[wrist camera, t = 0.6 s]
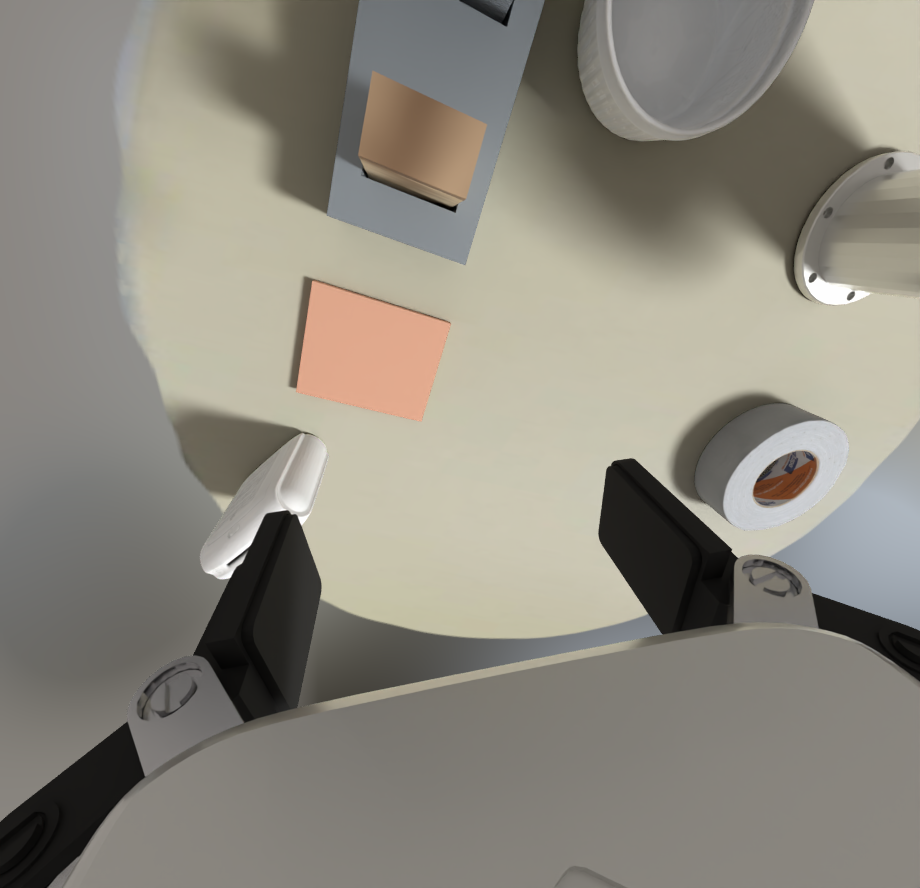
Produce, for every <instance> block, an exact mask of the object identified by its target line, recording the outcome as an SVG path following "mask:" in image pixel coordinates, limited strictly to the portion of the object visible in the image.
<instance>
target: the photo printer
mask: <svg viewBox="0 0 920 888" xmlns="http://www.w3.org/2000/svg"><path fill="white" fill-rule="evenodd" d="M328 459H329V454H328V453H327V449H326V446H325V445H324V443H323V442H322V441H321V440H320V439H319V438H317V437H316V436H313V435H310V434H304V433H301V434H299V435H297V436H295V437H294V438H292V439H291V440H290V441H288V442H287V443H286V444H285V445H283V446H282V447H281V448H280V449H279V450H278V451H277V452H275V453H274V454H273V455H272V456H271V457H269V458H268V459H267V460H266V461H265V462H264V463H263V464H262V465H260V466H259V467H258V468H257V469H256V470H255V471H254V472H253V473H252V474H251V475H250V476H249V477H248V478H247V479H246V480H245V481H244V482H243V484H242V485H241V486H240V488H239V490H238V491H237V493H236V495H235V496H234V498H233V499H232V501H231V503H230V504H229V506H228V507H227V509H226V511H225V512H224V514H223V515H222V517H221V518H220V520H219V522H218V523H217V525H216V526H215V528H214V530H213V531H212V533H211V534H210V536H209V537H208V539H207V541H206V542H205V544H204V545H203V547H202V550H201V553H200V563H201V566H202V568H203V570H204V571H205V572H206V573H209V574H212V575H214V576H215V577H217V578H218V579H227V578H231V576H232V573H233V571H234V570H235V568H236V567H237V566H238V565H240V564H242V563H243V561H244V558H245V556H246V554H247V552H248V550H249V548H250V546H251V543H252V541H253V539H254V537H255V535H256V533H257V531H258V528H259V526H260V524H261V522H262V520H263V518H264V516H265V514H267V513H271V512H277V511H284V510H288V511H290V513H291V514H296V515H297V516H298V518H299V521H300V524H301V526H302V524H303V523H304V522H305V520H306V519H307V518H308V516H309V515H310V513H311V511H312V508H313V505H314V502H315V499H316V496H317V493H318V490H319V487H320V484H321V481H322V478H323V475H324V472H325V468H326V465H327V462H328Z"/></svg>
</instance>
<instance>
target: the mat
mask: <svg viewBox="0 0 920 888" xmlns="http://www.w3.org/2000/svg"><path fill="white" fill-rule="evenodd" d="M450 326H451V323H450V322H447V321H444V320H441V319H438V318H435V317H432V316H428V315H425V314H422V313H419V312H416V311H412V310H409V309H406V308H403V307H400V306H396V305H393V304H390V303H387V302H384V301H380V300H377V299H374V298H371V297H368V296H364V295H361V294H358V293H355V292H352V291H348V290H345V289H342V288H339V287H336V286H332V285H329V284H326V283H323V282H320V281H316V280H313V281H312V286H311V293H310V300H309V307H308V314H307V321H306V327H305V334H304V341H303V348H302V355H301V362H300V369H299V375H298V382H297V389H296V392H298V393H302V394H306V395H310V396H315V397H319V398H323V399H327V400H332V401H336V402H340V403H344V404H349V405H353V406H357V407H361V408H366V409H370V410H374V411H378V412H383V413H387V414H391V415H395V416H400V417H404V418H408V419H412V420H417V421H422V418H423V414H424V411H425V408H426V405H427V401H428V398H429V395H430V391H431V388H432V385H433V382H434V378H435V375H436V372H437V368H438V365H439V362H440V359H441V355H442V352H443V349H444V345H445V342H446V339H447V336H448V332H449V329H450Z"/></svg>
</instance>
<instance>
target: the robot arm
mask: <svg viewBox="0 0 920 888" xmlns="http://www.w3.org/2000/svg"><path fill="white" fill-rule="evenodd" d="M794 273H795V279H796V282H797V285H798V287H799V290H800V291H801V292H802V293H803V295H804V296H805V297H806V298H808V299H810V300H811V301H813V302H816V303H820V304H825V305H833V306H836V305H845V304H848V303H852V302H855V301H858V300H860V299H862V298H864V297H866V296H868V295H870V294H871V293H876V294H885V295H893V296H902V297H910V298H918V299H920V155H919V154H916V153H914V152H909V151H896V152H890V153H884V154H880V155H877V156H873V157H870V158H868V159H866V160H865V161H863V162H861V163H859V164H857V165H855V166H854V167H853V168H851V169H850V170H848V171H847V172H846V173H844V174H843V175H842V176H841V177H840V178H839V179H838V180H837V181H836V182H835V183H833V184H832V185H831V186H830V188H829V189H828V190H827V191H826V192H825V194H824V195H823V196H822V197H821V198H820V200H819V201H818V203H817V204H816V206H815V207H814V209H813V210H812V212H811V213H810V215H809V217H808V219H807V221H806V223H805V225H804V227H803V229H802V232H801V234H800V237H799V240H798V243H797V247H796V252H795V258H794ZM598 534H599V539H600V542H601V544H602V546H603V547H604V549H605V550H606V552H607V553H608V555H609V556H610V557H611V559H612V560H613V562H614V563H615V565H616V566H617V568H618V569H619V571H620V572H621V574H622V575H623V577H624V578H625V580H626V581H627V583H628V584H629V586H630V587H631V589H632V590H633V592H634V593H635V595H636V596H637V598H638V599H639V601H640V602H641V604H642V605H643V606H644V608H645V609H646V611H647V612H648V614H649V615H650V617H651V618H652V620H653V621H654V623H655V624H656V625H657V627H658V629H659V630H660V632H661V633H662V634H663V635H657V636H652V637H647V638H642V639H636V640H632V641H626V642H620V643H615V644H610V645H605V646H600V647H594V648H589V649H584V650H579V651H573V652H568V653H563V654H558V655H553V656H548V657H543V658H538V659H532V660H527V661H522V662H517V663H513V664H507V665H502V666H497V667H492V668H487V669H482V670H477V671H472V672H467V673H462V674H456V675H452V676H447V677H442V678H437V679H432V680H427V681H422V682H417V683H412V684H407V685H402V686H398V687H393V688H388V689H383V690H378V691H373V692H368V693H363V694H358V695H354V696H349V697H344V698H340V699H335V700H331V701H326V702H322V703H317V704H313V705H308V706H303V707H299V708H297V706H298V702H299V696H300V692H301V687H302V682H303V677H304V673H305V668H306V663H307V658H308V653H309V649H310V644H311V639H312V634H313V629H314V624H315V619H316V614H317V610H318V605H319V600H320V595H321V579H320V576H319V574H318V571H317V568H316V565H315V562H314V560H313V557H312V554H311V551H310V549H309V546H308V543H307V540H306V537H305V535H304V532H303V529H302V526H301V524H300V521H299V518H298V516H297V515H296V514H291V513H290V511H288V510H284V511H277V512H271V513H267V514H265V516H264V518H263V520H262V522H261V524H260V526H259V528H258V531H257V533H256V535H255V537H254V539H253V541H252V543H251V546H250V548H249V550H248V552H247V554H246V556H245V558H244V561H243V563H242V564H240V565H238V566H237V567H236V568H235V570H234V571H233V573H232V576H231V578H230V580H229V582H228V584H227V586H226V588H225V590H224V592H223V594H222V596H221V598H220V601H219V603H218V605H217V607H216V609H215V611H214V613H213V615H212V617H211V619H210V621H209V623H208V626H207V627H206V630H205V632H204V634H203V636H202V638H201V640H200V642H199V644H198V646H197V648H196V650H195V652H194V654H193V656H185V657H182V658H179V659H176V660H174V661H171V662H170V663H168V664H167V665H164V666H163V667H161V668H160V669H158V670H157V671H156V672H154V673H153V674H152V675H151V676H149V677H148V678H147V679H146V681H145V682H144V683H143V684H142V685H141V686H140V687H139V688H138V690H137V691H136V693H135V694H134V696H133V697H132V699H131V702H130V704H129V707H128V710H127V720H128V722H126V723H125V724H124V725H123V726H121V727H120V728H119V729H117V730H116V731H115V732H113V733H112V734H111V735H110V736H108V737H107V738H106V739H104V740H103V741H102V742H101V743H99V744H98V745H97V746H96V747H94V748H93V749H92V750H90V751H89V752H88V753H87V754H85V755H84V756H83V757H81V758H80V759H79V760H78V761H76V762H75V763H74V764H73V765H71V766H70V767H69V768H67V769H66V770H65V771H63V772H62V773H61V774H60V775H58V776H57V777H56V778H55V779H53V780H52V781H51V782H50V783H48V784H47V785H46V786H44V787H43V788H42V789H40V790H39V791H38V792H37V793H35V794H34V795H33V796H32V797H30V798H29V799H28V800H26V801H25V802H24V803H22V804H21V805H20V806H19V807H17V808H16V809H15V810H14V811H12V812H11V813H10V814H9V815H8V816H7V817H5V818H4V819H3V820H2V821H1V822H0V888H920V631H919V630H917V629H914V628H912V627H909V626H906V625H904V624H901V623H898V622H895V621H892V620H889V619H886V618H883V617H881V616H878V615H875V614H872V613H868V612H866V611H863V610H860V609H857V608H854V607H851V606H848V605H845V604H843V603H840V602H837V601H834V600H831V599H828V598H825V597H822V596H819V595H816V594H813V593H812V592H811V588H810V586H809V583H808V581H807V580H806V579H805V578H804V577H803V576H802V575H801V574H800V573H799V572H798V571H797V570H795V569H794V568H793V567H791V566H789V565H787V564H786V563H784V562H782V561H779V560H776V559H774V558H771V557H767V556H762V555H746V556H742V557H740V558H739V559H738V558H737V557H736V556H735V555H734V554H733V553H732V552H731V551H732V549H731V548H730V547H729V546H728V545H727V544H726V543H725V542H724V541H723V540H722V539H720V538H719V537H718V536H717V535H716V534H715V533H714V532H713V531H712V530H711V529H710V528H709V527H707V526H706V525H705V524H704V523H703V522H702V521H701V520H700V519H699V518H698V517H697V516H696V515H694V514H693V513H692V512H691V511H690V510H689V509H688V508H687V507H686V506H685V505H684V504H683V503H682V502H680V501H679V500H678V499H677V498H676V497H675V496H674V495H673V494H672V493H671V492H670V491H669V490H667V489H666V488H665V487H664V486H663V485H662V484H661V483H660V482H659V481H658V480H657V479H656V478H654V477H653V476H652V475H651V474H650V473H649V472H648V471H647V470H646V469H645V468H644V467H643V466H642V465H640V464H639V463H638V462H637V461H636V460H635V459H632V458H630V459H623V460H617V461H614V462H613V463H612V464H611V466H609V467H608V468H607V470H606V478H605V485H604V493H603V501H602V509H601V516H600V524H599V533H598Z"/></svg>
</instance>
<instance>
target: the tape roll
mask: <svg viewBox="0 0 920 888" xmlns="http://www.w3.org/2000/svg"><path fill="white" fill-rule="evenodd" d="M848 452H849V443H848V439H847V435H846V434H845V432H844V431H843V430H842V429H841V428H840V427H838V426H837V425H836V424H834V423H832V422H830V421H828V420H825V419H823V418H821V417H819V416H816V415H814V414H812V413H809V412H807V411H805V410H802V409H800V408H798V407H795V406H793V405H790V404H785V403H773V404H767V405H763V406H759V407H756V408H753V409H751V410H749V411H747V412H745V413H743V414H741V415H739V416H738V417H736V418H735V419H733V420H732V421H730V422H729V423H728V424H726V425H725V426H724V427H723V428H722V429H721V430H720V431H719V432H718V433H717V434H716V435H715V436H714V437H713V438H712V439H711V441H710V442H709V443H708V444H707V446H706V447H705V449H704V451H703V452H702V454H701V456H700V458H699V461H698V463H697V467H696V471H695V478H694V481H695V488H696V491H697V493H698V495H699V496H700V498H701V499H702V500H703V501H704V502H706V503H707V504H708V505H709V506H710V507H711V508H713V509H714V510H715V511H716V512H717V513H719V514H720V515H721V516H722V517H723V518H725V519H726V520H727V521H728V522H729V523H730V524H732V525H733V526H735V527H737V528H740V529H742V530H762V529H768V528H772V527H776V526H780V525H782V524H784V523H787V522H789V521H791V520H793V519H795V518H797V517H798V516H800V515H802V514H803V513H805V512H806V511H807V510H809V509H810V508H812V507H813V506H814V505H816V504H817V503H818V502H819V501H820V500H821V499H822V498H823V497H824V496H825V495H826V494H827V493H828V491H829V490H830V489H831V488H832V486H833V485H834V484H835V482H836V480H837V478H838V477H839V475H840V473H841V471H842V470H843V468H844V466H845V465H846V462H847V457H848ZM777 459H778V460H777ZM775 460H777V461H776V463H775V464H774V466H773V467H772V468H771V469H770V470H769V471H768V472H767V473H766V474H765V475H763V476H762V477H760V478H759V479H758V477H759V476H760V474H761V473H762V472H763V471H764V470H765V468H766V467H767V466H769V465H770V464H771V463H772V462H774V461H775Z"/></svg>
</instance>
